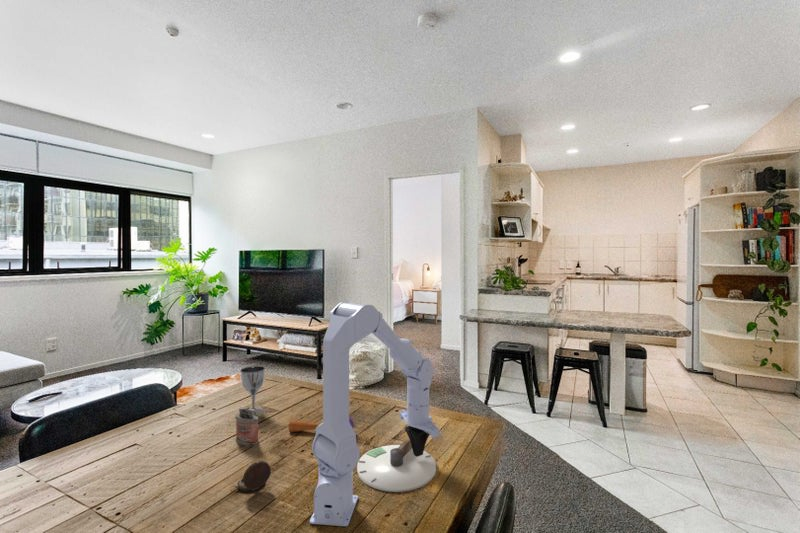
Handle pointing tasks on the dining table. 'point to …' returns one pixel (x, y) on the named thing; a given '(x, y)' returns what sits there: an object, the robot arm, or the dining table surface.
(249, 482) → the compass
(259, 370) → the wine glass
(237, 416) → the lighter
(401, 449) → the tuning pointer
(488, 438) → the dining table surface
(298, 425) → the kendama
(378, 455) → the gauge dial
